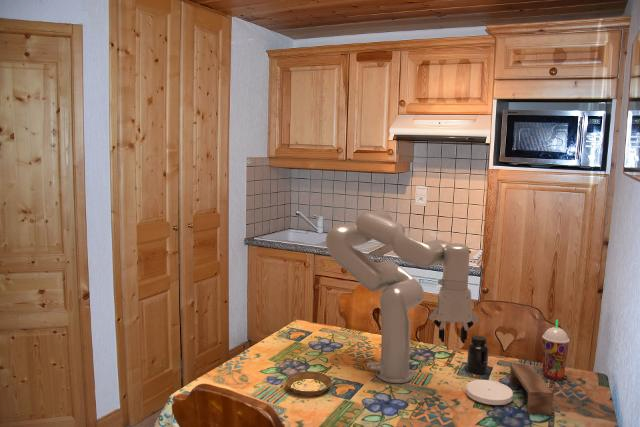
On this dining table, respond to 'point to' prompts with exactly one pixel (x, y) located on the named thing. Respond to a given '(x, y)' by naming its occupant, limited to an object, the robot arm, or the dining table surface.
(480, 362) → the supplement bottle
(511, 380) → the walnut bridge
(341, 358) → the dining table surface
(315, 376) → the plant saucer
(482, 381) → the plastic lid
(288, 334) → the dining table surface
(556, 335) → the smoothie
